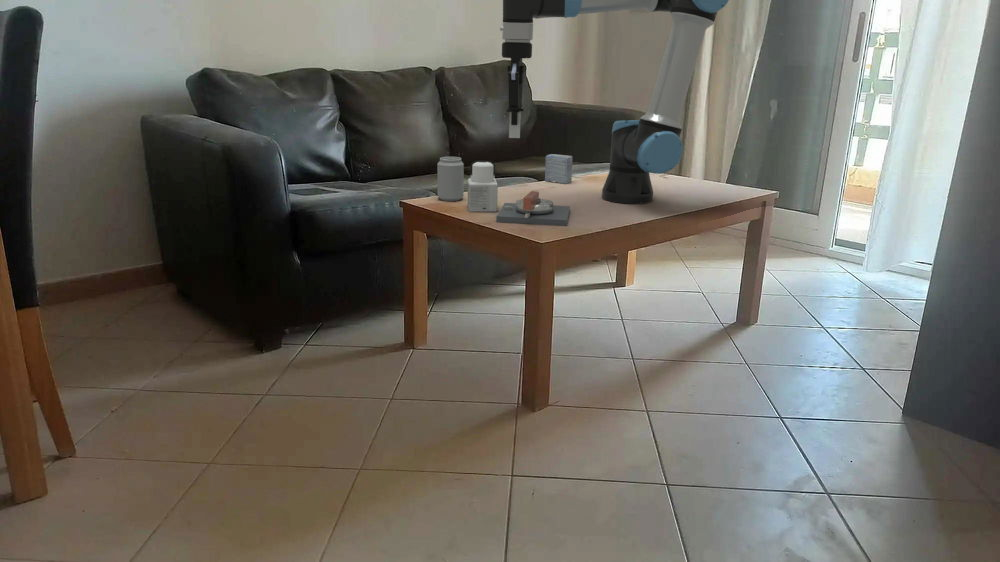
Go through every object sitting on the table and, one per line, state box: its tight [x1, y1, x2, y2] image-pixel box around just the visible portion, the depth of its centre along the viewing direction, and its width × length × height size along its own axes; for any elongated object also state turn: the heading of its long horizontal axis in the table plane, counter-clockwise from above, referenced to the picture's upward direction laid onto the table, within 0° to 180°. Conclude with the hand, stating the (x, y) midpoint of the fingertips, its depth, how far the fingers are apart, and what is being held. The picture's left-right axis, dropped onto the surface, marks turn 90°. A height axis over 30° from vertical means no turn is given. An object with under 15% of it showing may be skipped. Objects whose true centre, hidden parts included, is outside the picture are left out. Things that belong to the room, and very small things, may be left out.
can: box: [436, 156, 465, 202], centre depth 208 cm, size 8×8×12 cm
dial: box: [515, 190, 555, 214], centre depth 188 cm, size 14×10×5 cm
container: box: [467, 160, 499, 213], centre depth 197 cm, size 8×8×13 cm
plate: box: [495, 202, 571, 227], centre depth 191 cm, size 18×16×2 cm
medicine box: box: [544, 153, 573, 185], centre depth 236 cm, size 8×4×9 cm, turn 59°
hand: (514, 137), depth 186 cm, fingers closed
